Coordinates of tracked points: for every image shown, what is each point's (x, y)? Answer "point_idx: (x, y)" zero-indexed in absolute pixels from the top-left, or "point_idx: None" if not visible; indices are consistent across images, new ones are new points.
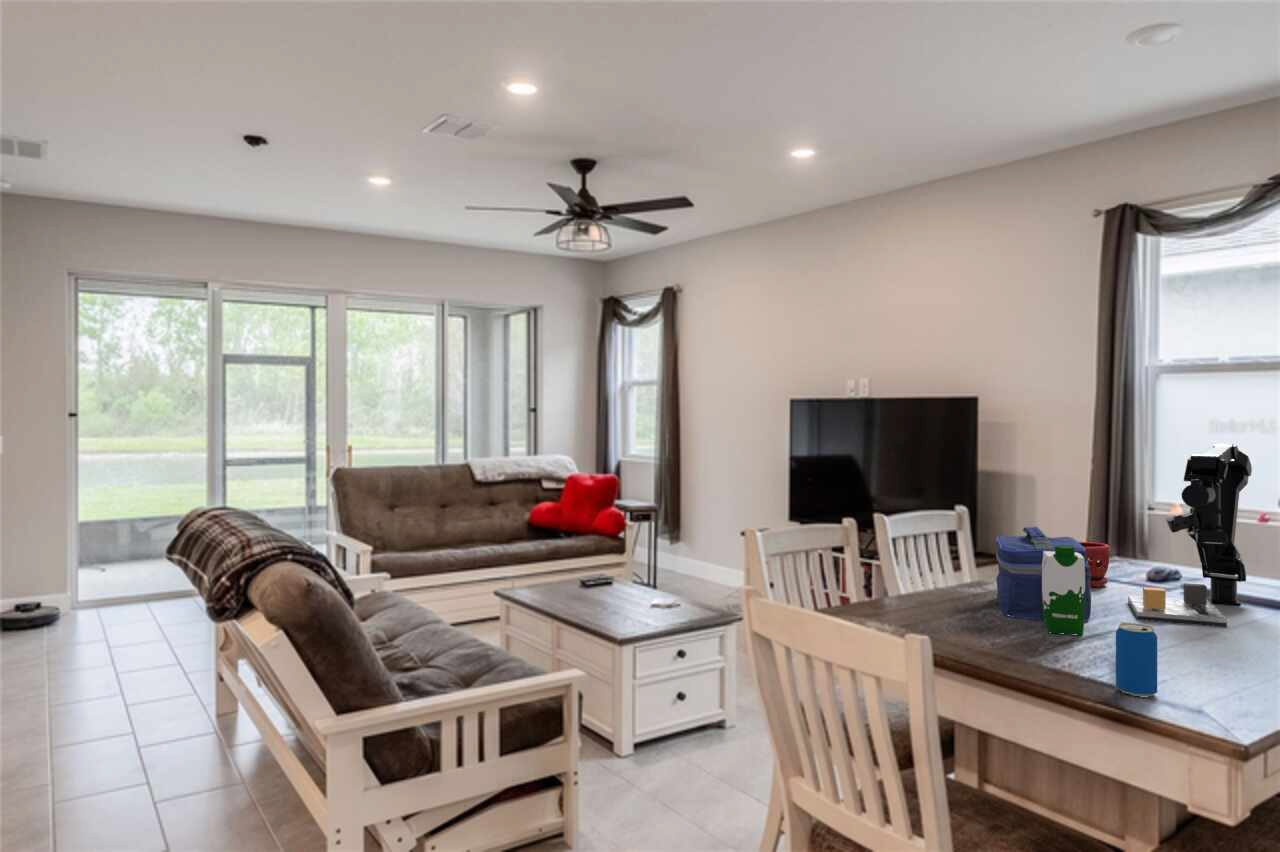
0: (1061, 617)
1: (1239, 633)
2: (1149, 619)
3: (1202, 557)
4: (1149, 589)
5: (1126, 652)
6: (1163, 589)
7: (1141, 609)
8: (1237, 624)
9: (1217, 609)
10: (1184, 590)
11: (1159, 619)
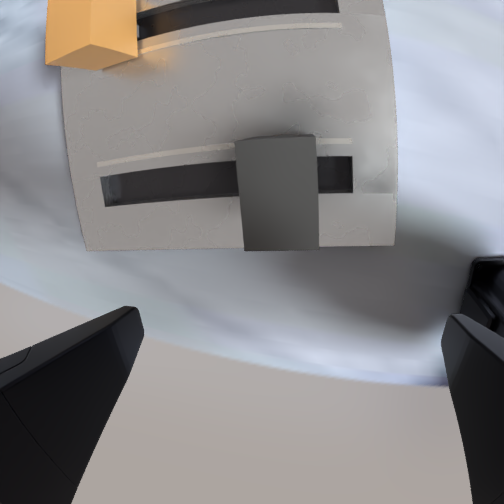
0: None
1: (61, 258)
2: None
3: (461, 352)
4: (51, 7)
5: None
6: (68, 49)
7: None
8: (156, 276)
9: (218, 247)
10: (287, 136)
11: None
